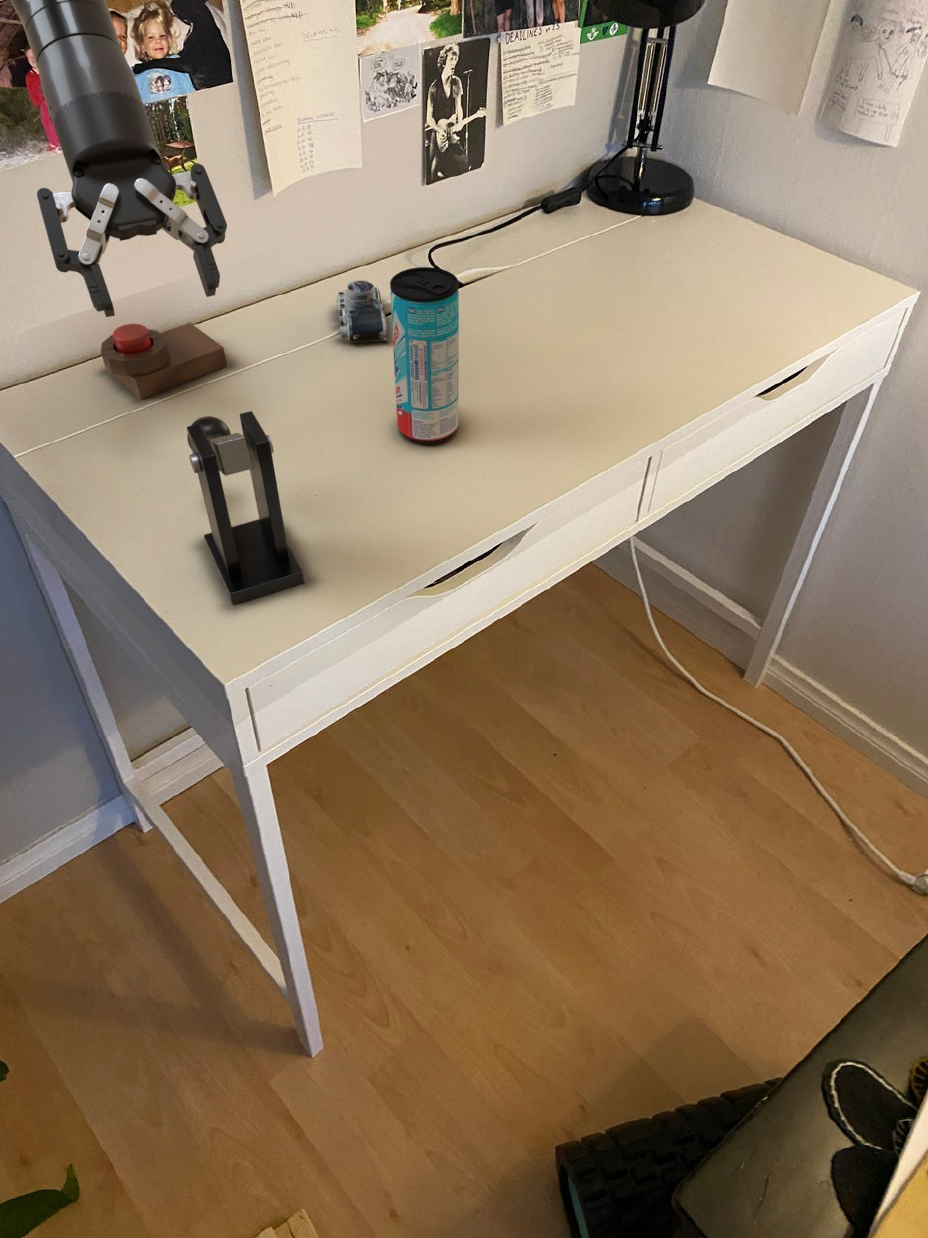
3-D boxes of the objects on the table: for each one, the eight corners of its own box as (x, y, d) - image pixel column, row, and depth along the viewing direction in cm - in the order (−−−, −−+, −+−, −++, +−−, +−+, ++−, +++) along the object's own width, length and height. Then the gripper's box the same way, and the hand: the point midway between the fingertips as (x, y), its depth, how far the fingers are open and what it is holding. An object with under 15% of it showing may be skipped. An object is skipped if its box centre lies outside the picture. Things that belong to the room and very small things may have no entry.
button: (126, 359, 95) (122, 343, 93) (111, 346, 97) (106, 330, 95) (157, 348, 96) (153, 332, 95) (141, 335, 98) (137, 319, 97)
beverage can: (429, 405, 96) (426, 260, 85) (471, 430, 93) (473, 282, 82) (385, 429, 93) (375, 281, 82) (426, 455, 90) (421, 305, 79)
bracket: (205, 545, 80) (173, 415, 71) (274, 525, 82) (251, 396, 73) (232, 605, 75) (201, 473, 66) (304, 582, 77) (284, 451, 68)
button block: (130, 403, 96) (120, 368, 93) (99, 375, 99) (88, 340, 97) (227, 366, 101) (220, 331, 98) (194, 340, 105) (186, 306, 102)
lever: (191, 461, 81) (179, 419, 80) (232, 450, 83) (221, 409, 81) (218, 486, 70) (204, 438, 69) (265, 473, 71) (252, 426, 70)
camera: (341, 348, 103) (338, 312, 100) (337, 304, 111) (334, 269, 108) (388, 345, 104) (386, 309, 101) (381, 301, 111) (379, 266, 108)
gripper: (2, 100, 73) (71, 304, 74) (185, 76, 78) (248, 269, 79) (15, 150, 81) (78, 336, 81) (182, 125, 85) (240, 302, 86)
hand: (162, 303), depth 80 cm, fingers open, 8 cm apart
